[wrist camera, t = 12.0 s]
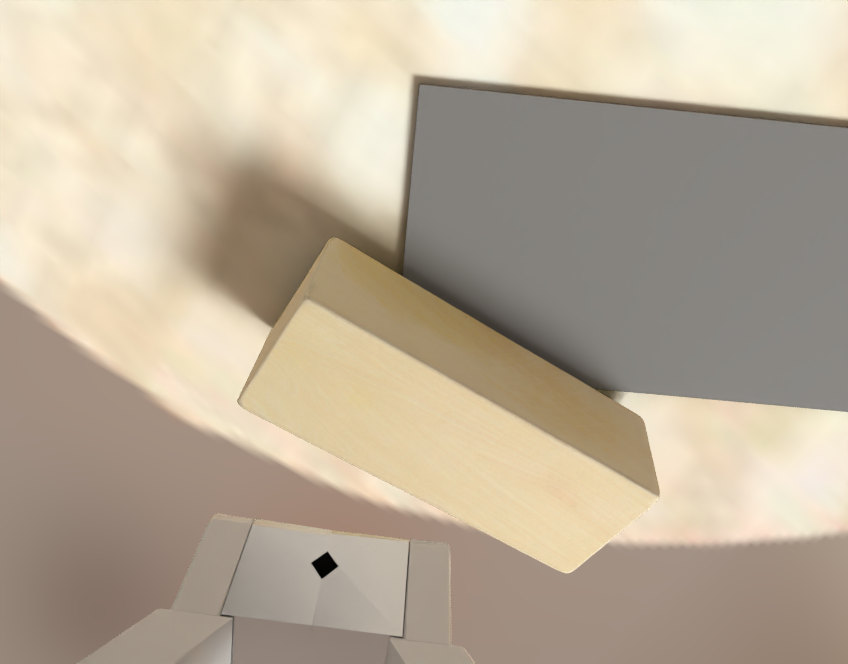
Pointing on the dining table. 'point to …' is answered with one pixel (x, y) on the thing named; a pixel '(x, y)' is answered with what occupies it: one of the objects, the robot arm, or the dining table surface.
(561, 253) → the mat
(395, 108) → the dining table surface
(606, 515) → the wooden rectangular block
